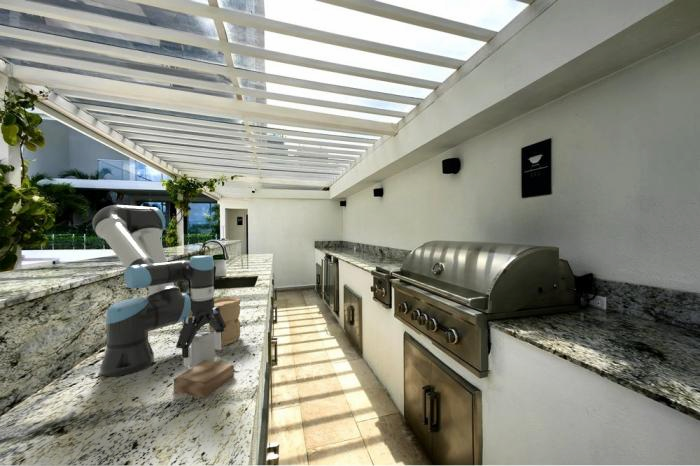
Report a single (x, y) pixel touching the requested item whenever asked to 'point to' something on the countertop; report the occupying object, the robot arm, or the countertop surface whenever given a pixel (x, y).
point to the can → (203, 347)
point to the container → (228, 318)
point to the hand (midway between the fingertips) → (203, 357)
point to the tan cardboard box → (203, 378)
